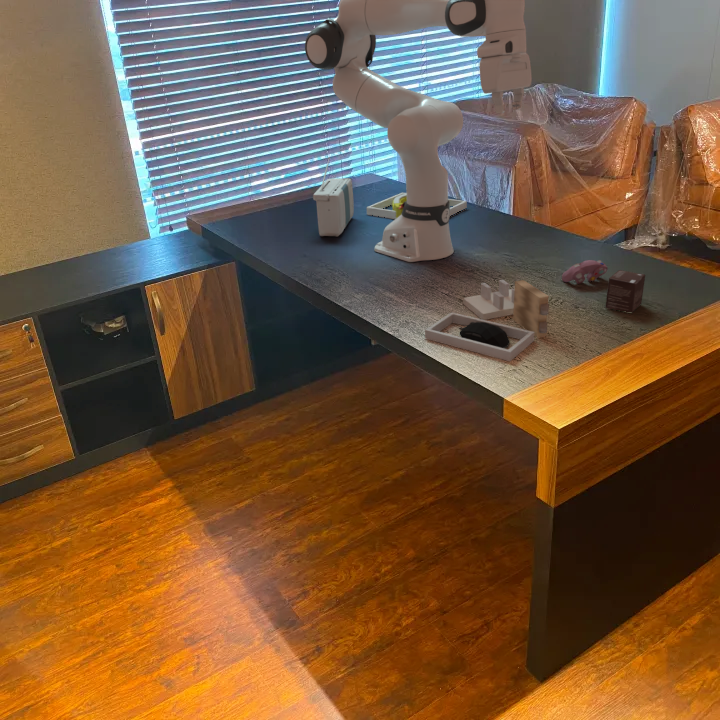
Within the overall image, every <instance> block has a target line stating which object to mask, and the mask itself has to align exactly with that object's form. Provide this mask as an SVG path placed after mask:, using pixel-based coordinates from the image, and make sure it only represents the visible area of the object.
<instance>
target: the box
mask: <svg viewBox="0 0 720 720" xmlns="http://www.w3.org/2000/svg"><path fill="white" fill-rule="evenodd" d="M645 280H646V274H644V273H637V272H633V271H627V270H621V269H620V270H617V271H616V272H615V273H614V274H612V275H611V276H610V277H609V278H608V283H607V291H606V299H605V307H604V308H605V309H606V308H608V309H607V310H610V309H614V310H613V311H616V310H620V311H626V312H633V311H634V310H635V309H636V308H637V307H638V306H639V305H640V304H641V305H642V303H643V302H642V301H643V294H644V289H645V287H644V286H645ZM641 305H640V306H641ZM640 306H639V307H640ZM639 307H638V308H639ZM638 308H637V309H638ZM637 309H636V310H637ZM636 310H635V311H636ZM620 311H619V312H620ZM635 311H634V312H635ZM634 312H633V313H634Z"/></svg>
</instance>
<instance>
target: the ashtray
mask: <svg viewBox="0 0 720 720" xmlns="http://www.w3.org/2000/svg"><path fill="white" fill-rule="evenodd" d="M406 201H407V194H403V195H399V196H397V197H396V198H395V199H394V200H393V203H392V205H391V207H392V210H393V211H396V218H398V217H399V216H400V215H401V214H402V211H403V208H402V209H399V207H401V206H399V205H401V204H403V203H404V202H406Z"/></svg>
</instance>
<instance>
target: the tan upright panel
mask: <svg viewBox="0 0 720 720" xmlns="http://www.w3.org/2000/svg"><path fill="white" fill-rule="evenodd" d="M514 288H515V291H514V312H513V314H512V315H513V316H512V320H513V321H514V323H516V324H518V325H519V326H521V328H522V329H524V330H528V331H532V332H534V338H536V339H539V338H545V337H546V336H547V333H548V324H549V323H548V315H549V312H550V311H549V309H550V308H549V307H550V305H549V297H550V296H549V295H548V294H546V293H544V292H543V291H542V290H540V289H538V288H537V287H535V286H534V285H532V284H530V283H529V282H527V281H526V280H524V279H521V280H516V281H514Z"/></svg>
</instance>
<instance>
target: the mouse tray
mask: <svg viewBox="0 0 720 720" xmlns="http://www.w3.org/2000/svg"><path fill="white" fill-rule="evenodd" d="M471 322H474V323H475V322H485V323H488V324H492V325H495V326H498V327H500V328H501V329H502V330H503V331H505V332H506V334H507V337H508V338H514V339H518V340H519V341H517V342H516V343H515V344H514V345H513V346H511V347H510V348H509V349H507V348H500V347H496V346H492V345H489V344H485V343H481V342H477V341H473V340H469V339H466V338H462V337H461V336H459V335H458V336H457V335H453V334H449V333H445V332H443V330H444V329H445V328H447V327H449V326H450V325H451V324H453V323H454V324H457V325H462V326H465V327H466V326H468V325H469V324H470V323H471ZM424 339H425V340H429V341H434V342H437V343H441V344H444V345H449V346H452V347H456V348H459V349H463V350H466V351H471V352H474V353H478V354H481V355H485V356H489V357H491V358H492V357H493V358H496V359H499V360H503V361H508V362H511V361H512V360H513V359H514V358H515V357H517V356H518V355H519V354H520V353H522V352H523V351H524V350H525V349H527V348H528V346H530V345H531V344H532V343H534V341H535V336H534V332H532V331H528V330H526V329H524V328H519V327H515V326H511V325H507V324H503V323H498V322H494V321H490V320H482V319H481V318H479V317H473V316H469V315H465V314H460V313H456V312H454V311H452V312H451V311H450V313H448V314H447V315H445V316H443V317H442V318H441V319H439V320H437V321H436V322H434V323H433V324H432V325H430V326H428V327H427V328H426V329H424Z"/></svg>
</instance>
